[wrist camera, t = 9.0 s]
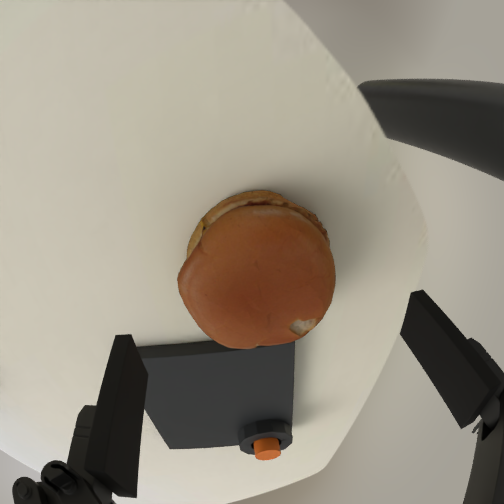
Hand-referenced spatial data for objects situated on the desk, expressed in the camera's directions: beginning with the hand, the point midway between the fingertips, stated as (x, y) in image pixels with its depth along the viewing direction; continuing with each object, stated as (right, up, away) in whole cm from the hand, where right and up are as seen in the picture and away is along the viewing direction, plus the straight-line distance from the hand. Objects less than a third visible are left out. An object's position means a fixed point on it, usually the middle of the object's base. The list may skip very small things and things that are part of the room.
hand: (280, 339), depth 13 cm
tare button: (0, -16, +14) cm, 21 cm away
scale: (-4, -10, +14) cm, 18 cm away
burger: (-1, +3, +7) cm, 8 cm away
